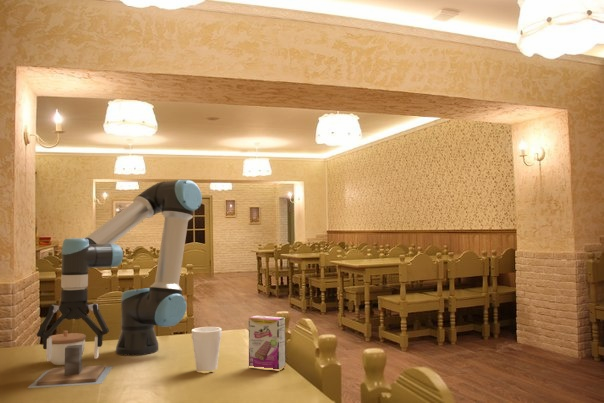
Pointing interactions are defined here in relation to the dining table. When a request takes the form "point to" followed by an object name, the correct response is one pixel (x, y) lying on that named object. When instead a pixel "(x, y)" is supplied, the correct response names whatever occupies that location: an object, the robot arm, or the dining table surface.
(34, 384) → the mat
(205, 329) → the foam cup
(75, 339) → the lidded bowl
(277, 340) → the candy bar box
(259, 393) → the dining table surface
